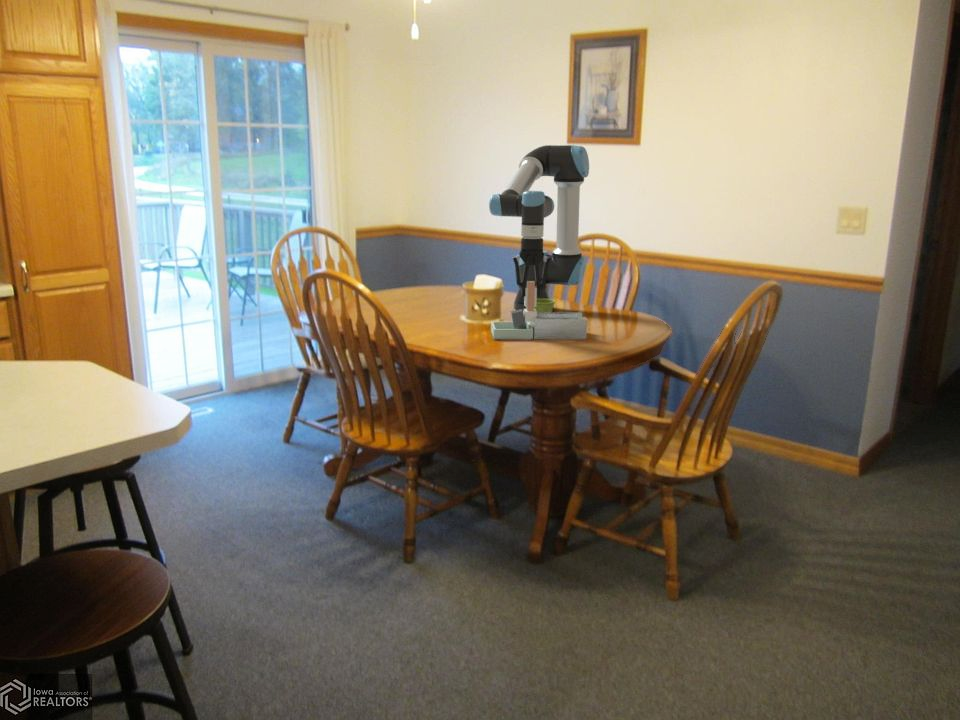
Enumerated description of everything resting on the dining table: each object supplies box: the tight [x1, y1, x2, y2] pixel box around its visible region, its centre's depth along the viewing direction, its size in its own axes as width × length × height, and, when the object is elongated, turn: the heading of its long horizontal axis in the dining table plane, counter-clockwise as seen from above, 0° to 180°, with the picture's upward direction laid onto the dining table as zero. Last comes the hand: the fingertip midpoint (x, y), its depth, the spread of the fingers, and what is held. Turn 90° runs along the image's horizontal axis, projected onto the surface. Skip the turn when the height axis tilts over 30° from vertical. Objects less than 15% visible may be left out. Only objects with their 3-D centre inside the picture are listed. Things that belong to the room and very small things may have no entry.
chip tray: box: [490, 321, 534, 341], centre depth 279 cm, size 13×14×4 cm
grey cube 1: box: [510, 309, 525, 325], centre depth 278 cm, size 4×4×4 cm
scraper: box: [523, 281, 537, 323], centre depth 277 cm, size 5×4×14 cm
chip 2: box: [513, 322, 527, 329], centre depth 278 cm, size 4×4×4 cm
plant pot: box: [534, 298, 556, 312], centre depth 298 cm, size 9×9×9 cm
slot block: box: [529, 311, 588, 340], centre depth 279 cm, size 12×18×7 cm, turn 93°
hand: (530, 305), depth 277 cm, fingers closed on scraper, 2 cm apart
